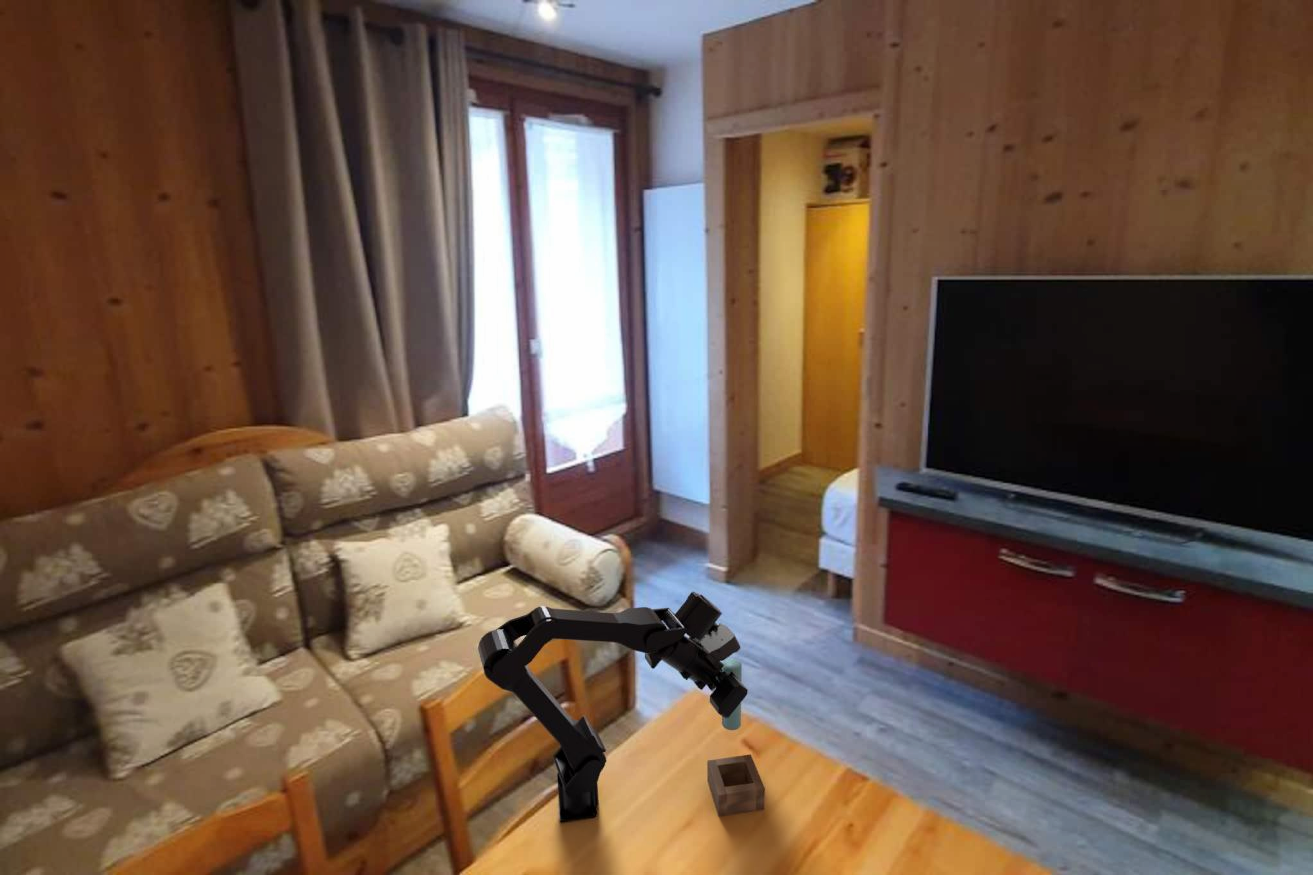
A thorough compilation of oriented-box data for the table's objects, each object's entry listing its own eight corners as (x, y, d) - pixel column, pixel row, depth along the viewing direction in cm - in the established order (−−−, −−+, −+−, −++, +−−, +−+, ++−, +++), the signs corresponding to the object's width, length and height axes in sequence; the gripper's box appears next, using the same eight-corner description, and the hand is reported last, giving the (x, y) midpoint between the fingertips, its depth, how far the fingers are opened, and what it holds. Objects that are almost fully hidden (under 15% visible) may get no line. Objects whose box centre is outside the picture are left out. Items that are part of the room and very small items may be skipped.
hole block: (718, 816, 116) (718, 795, 115) (707, 780, 124) (707, 760, 123) (764, 809, 117) (764, 788, 116) (750, 774, 125) (750, 754, 124)
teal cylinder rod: (724, 731, 126) (724, 671, 123) (719, 718, 130) (720, 660, 126) (743, 728, 127) (743, 669, 123) (737, 716, 130) (738, 657, 127)
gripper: (737, 647, 112) (792, 687, 119) (690, 596, 129) (740, 633, 136) (695, 699, 112) (752, 737, 119) (653, 641, 128) (705, 677, 135)
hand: (738, 692), depth 127 cm, fingers closed on teal cylinder rod, 4 cm apart
